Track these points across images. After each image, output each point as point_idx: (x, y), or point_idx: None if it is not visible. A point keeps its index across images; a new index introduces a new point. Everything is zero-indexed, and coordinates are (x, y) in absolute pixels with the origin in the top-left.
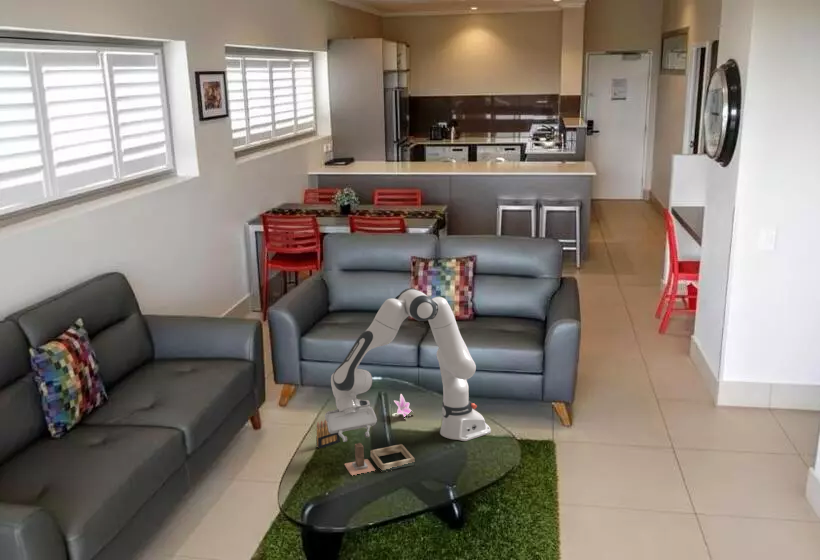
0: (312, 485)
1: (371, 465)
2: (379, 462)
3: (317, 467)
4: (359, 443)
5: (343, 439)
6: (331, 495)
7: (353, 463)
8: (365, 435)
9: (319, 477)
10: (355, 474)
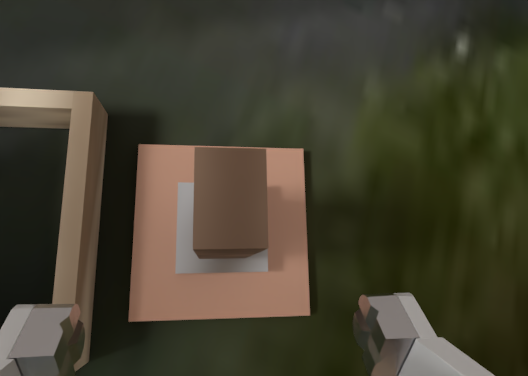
0: (523, 149)
1: (141, 213)
2: (89, 145)
3: (478, 350)
4: (213, 235)
5: (415, 314)
6: (445, 18)
7: (260, 259)
8: (70, 359)
9: (480, 217)
10: (279, 148)
